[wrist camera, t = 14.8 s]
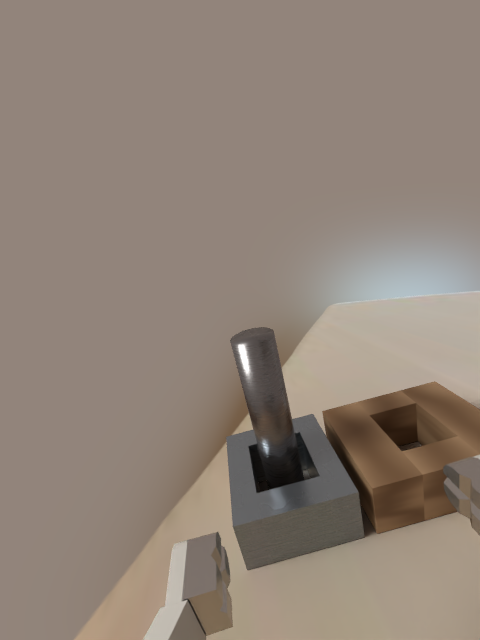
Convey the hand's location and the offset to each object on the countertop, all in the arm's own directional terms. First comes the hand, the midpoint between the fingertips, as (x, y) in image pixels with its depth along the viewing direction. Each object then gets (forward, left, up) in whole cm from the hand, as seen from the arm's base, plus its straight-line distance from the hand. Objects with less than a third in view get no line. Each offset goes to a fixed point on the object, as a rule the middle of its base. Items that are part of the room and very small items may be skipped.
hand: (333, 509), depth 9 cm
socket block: (+1, -12, -13) cm, 18 cm away
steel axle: (+1, -12, -13) cm, 18 cm away
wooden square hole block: (-11, -12, -13) cm, 21 cm away
